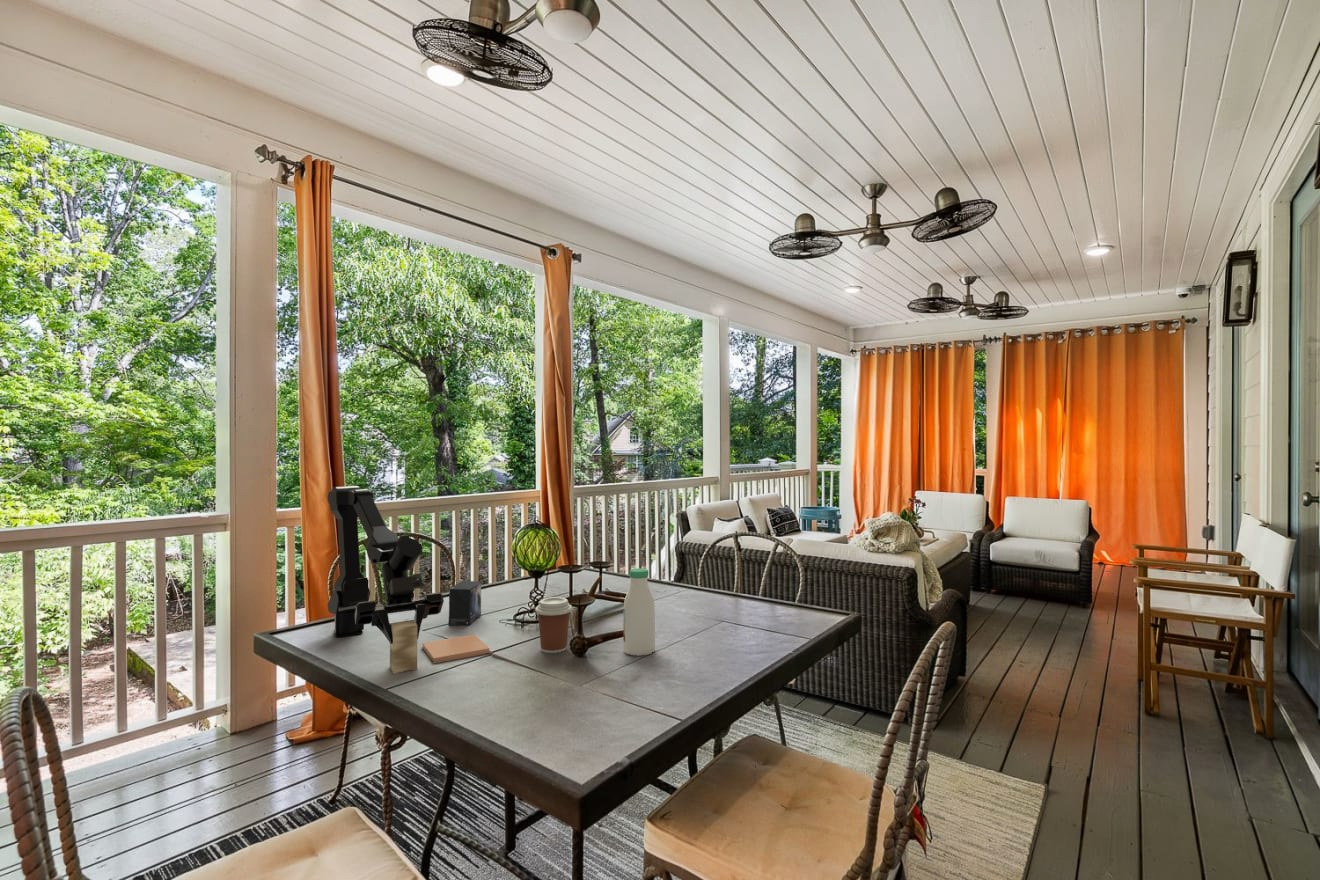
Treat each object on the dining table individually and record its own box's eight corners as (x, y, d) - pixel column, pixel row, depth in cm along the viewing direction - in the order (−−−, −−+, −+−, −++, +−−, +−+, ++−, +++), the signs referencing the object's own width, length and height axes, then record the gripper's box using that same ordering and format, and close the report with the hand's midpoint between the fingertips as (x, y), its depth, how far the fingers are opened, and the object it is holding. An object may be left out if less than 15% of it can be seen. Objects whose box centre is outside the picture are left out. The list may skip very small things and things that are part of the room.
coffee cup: (528, 652, 151) (527, 603, 151) (547, 641, 159) (547, 594, 159) (561, 657, 148) (560, 606, 148) (578, 645, 156) (578, 597, 156)
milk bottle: (661, 650, 152) (661, 569, 152) (639, 659, 146) (639, 574, 146) (639, 644, 157) (639, 565, 157) (616, 651, 151) (616, 569, 151)
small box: (470, 626, 173) (470, 588, 173) (447, 626, 173) (447, 588, 173) (482, 615, 184) (482, 580, 184) (460, 615, 184) (460, 580, 184)
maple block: (393, 673, 137) (393, 628, 137) (390, 666, 141) (390, 623, 141) (417, 669, 140) (417, 625, 140) (413, 662, 144) (413, 619, 144)
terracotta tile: (433, 663, 143) (433, 658, 143) (422, 647, 154) (422, 642, 154) (489, 653, 150) (489, 648, 150) (474, 638, 161) (474, 634, 161)
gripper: (356, 567, 139) (362, 628, 129) (441, 558, 149) (453, 615, 139) (352, 594, 146) (357, 655, 136) (434, 585, 155) (445, 640, 146)
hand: (404, 640), depth 139 cm, fingers closed on maple block, 5 cm apart
